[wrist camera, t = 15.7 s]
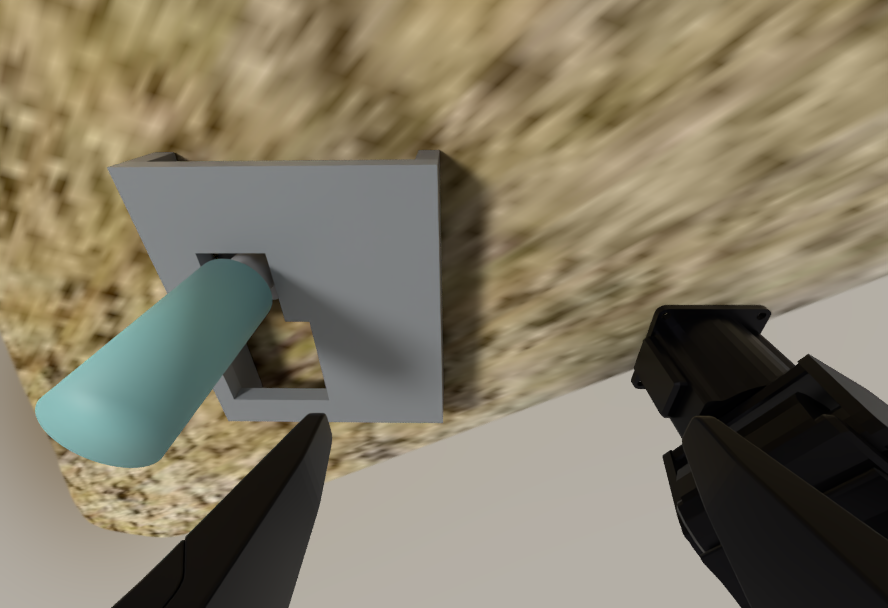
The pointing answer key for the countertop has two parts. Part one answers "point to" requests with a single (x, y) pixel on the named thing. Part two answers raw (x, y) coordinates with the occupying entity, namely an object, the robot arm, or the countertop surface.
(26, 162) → the countertop surface
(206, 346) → the peg
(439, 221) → the keyhole plate
